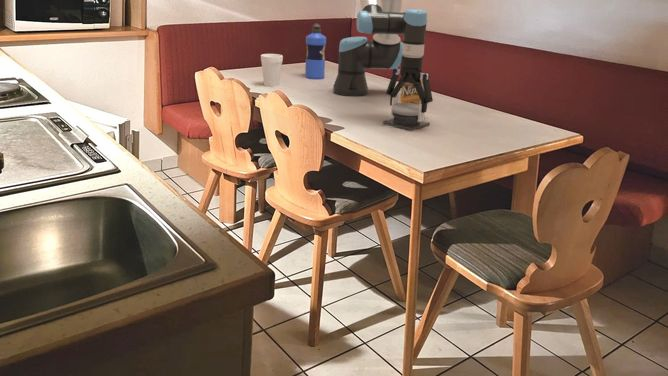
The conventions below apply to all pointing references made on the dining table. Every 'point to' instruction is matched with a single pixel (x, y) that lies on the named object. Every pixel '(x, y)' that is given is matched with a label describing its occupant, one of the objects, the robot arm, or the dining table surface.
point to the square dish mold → (406, 122)
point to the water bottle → (315, 54)
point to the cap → (406, 109)
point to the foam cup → (271, 68)
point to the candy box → (410, 93)
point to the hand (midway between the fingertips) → (407, 118)
